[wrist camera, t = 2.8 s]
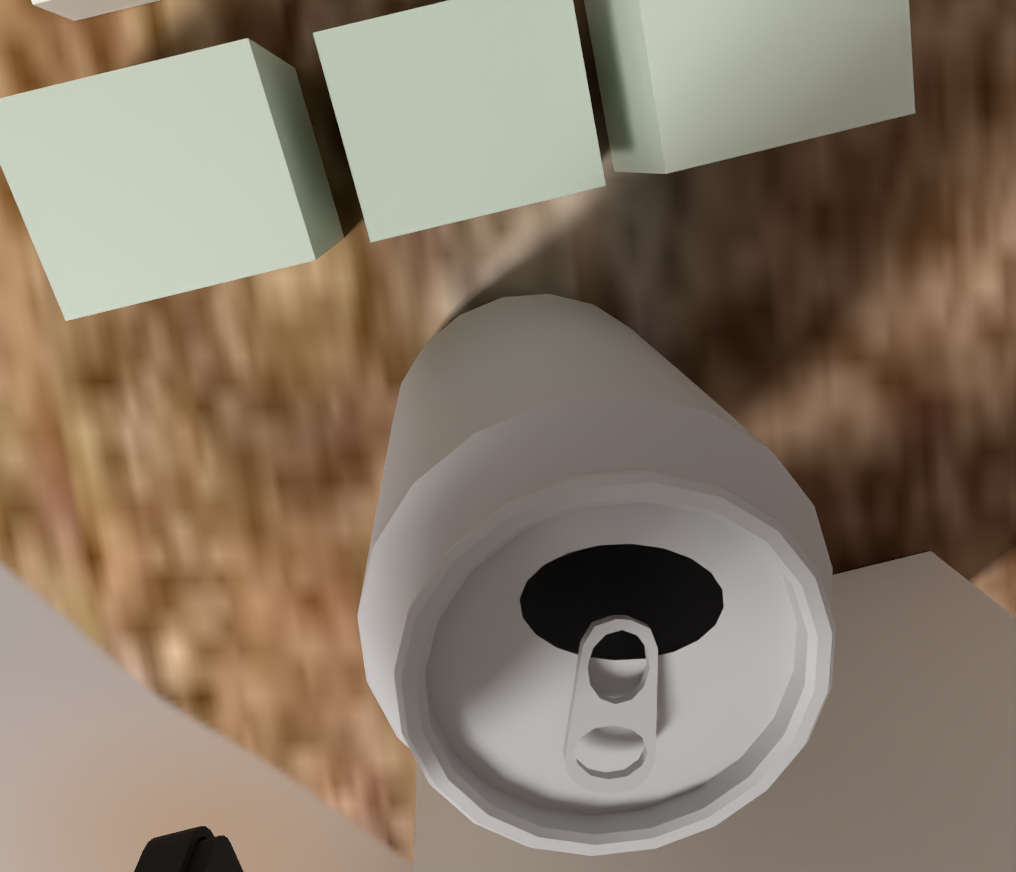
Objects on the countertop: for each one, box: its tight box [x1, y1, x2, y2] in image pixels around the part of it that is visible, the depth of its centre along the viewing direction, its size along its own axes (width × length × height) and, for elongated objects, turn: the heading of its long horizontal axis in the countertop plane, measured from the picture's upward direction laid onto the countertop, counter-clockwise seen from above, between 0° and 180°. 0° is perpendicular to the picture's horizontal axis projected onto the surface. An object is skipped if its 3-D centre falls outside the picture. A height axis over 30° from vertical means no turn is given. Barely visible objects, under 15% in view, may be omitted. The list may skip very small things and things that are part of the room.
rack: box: [31, 0, 1016, 872], centre depth 15 cm, size 22×19×14 cm
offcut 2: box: [584, 0, 915, 174], centre depth 17 cm, size 4×5×5 cm
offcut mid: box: [313, 0, 606, 242], centre depth 18 cm, size 4×5×4 cm
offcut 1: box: [0, 38, 344, 321], centre depth 17 cm, size 4×5×5 cm
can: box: [357, 294, 836, 856], centre depth 17 cm, size 8×8×12 cm
